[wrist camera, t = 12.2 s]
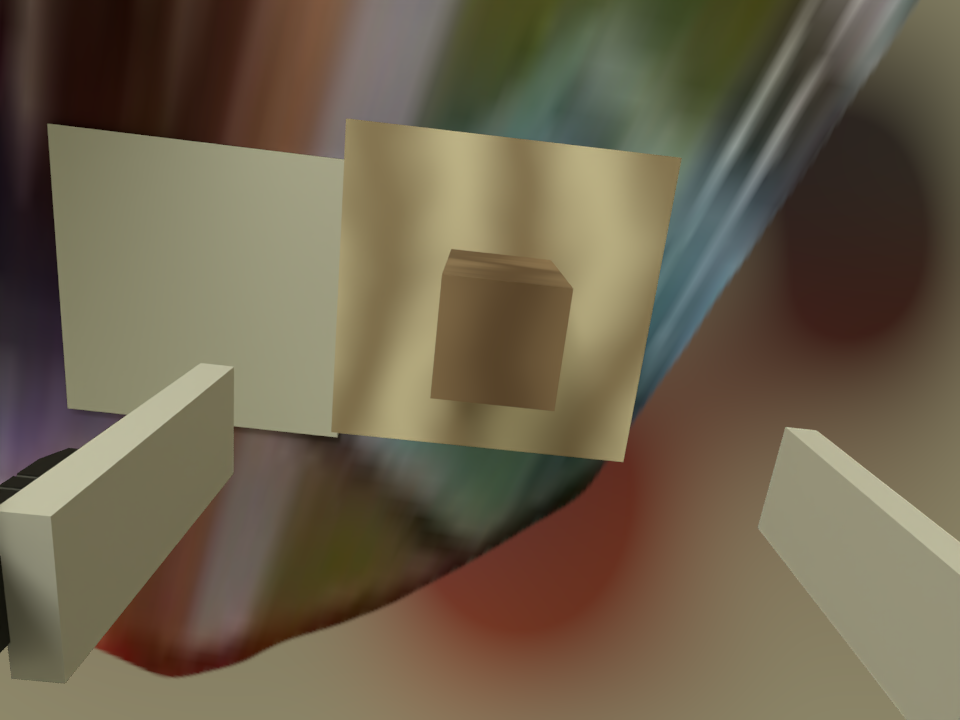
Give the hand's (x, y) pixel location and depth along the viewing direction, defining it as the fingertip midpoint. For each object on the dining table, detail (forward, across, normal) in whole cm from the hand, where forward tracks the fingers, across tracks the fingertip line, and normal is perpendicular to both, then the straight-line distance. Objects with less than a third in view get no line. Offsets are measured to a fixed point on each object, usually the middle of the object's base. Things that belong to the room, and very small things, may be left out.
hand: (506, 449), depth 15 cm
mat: (+31, -20, -4) cm, 37 cm away
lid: (+19, 0, 0) cm, 19 cm away
